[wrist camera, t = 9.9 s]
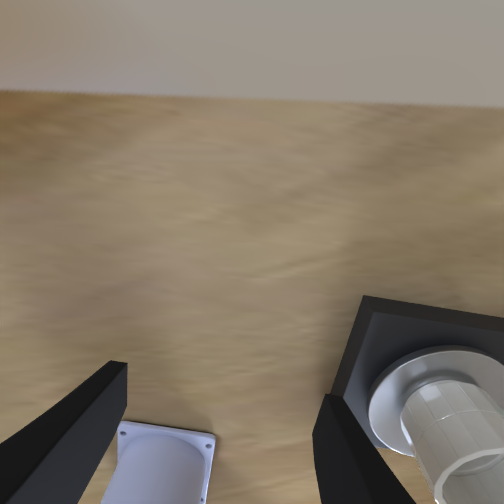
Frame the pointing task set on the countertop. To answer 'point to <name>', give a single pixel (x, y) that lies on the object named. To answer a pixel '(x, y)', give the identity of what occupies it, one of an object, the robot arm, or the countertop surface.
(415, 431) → the cup
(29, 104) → the countertop surface
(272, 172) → the countertop surface
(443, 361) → the scale pan
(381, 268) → the countertop surface
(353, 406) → the scale
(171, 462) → the robot arm
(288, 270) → the countertop surface
